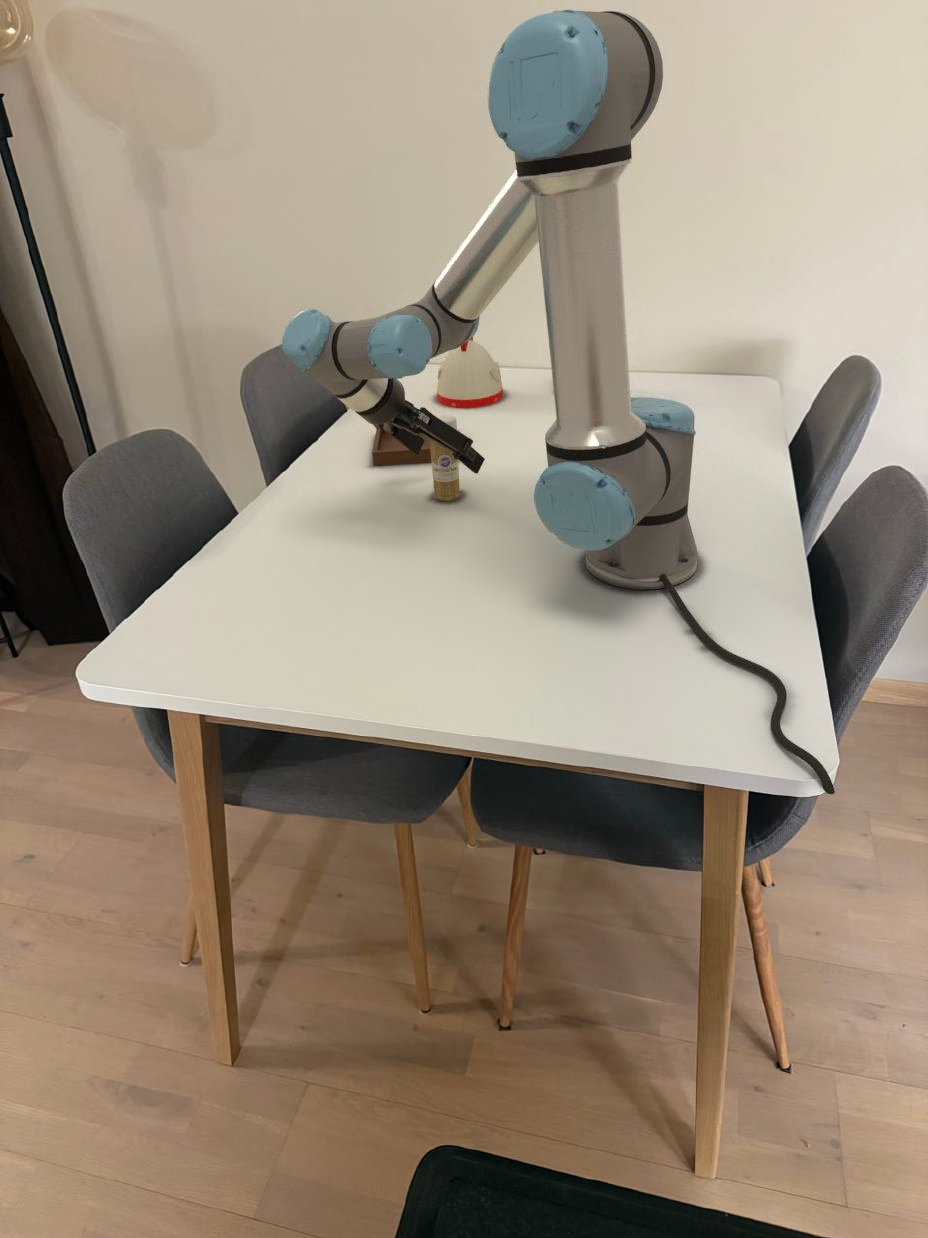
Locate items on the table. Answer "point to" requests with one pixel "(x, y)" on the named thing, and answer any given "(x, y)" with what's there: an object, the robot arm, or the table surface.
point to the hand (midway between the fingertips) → (449, 456)
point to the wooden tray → (397, 450)
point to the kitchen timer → (469, 377)
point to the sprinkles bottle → (445, 467)
